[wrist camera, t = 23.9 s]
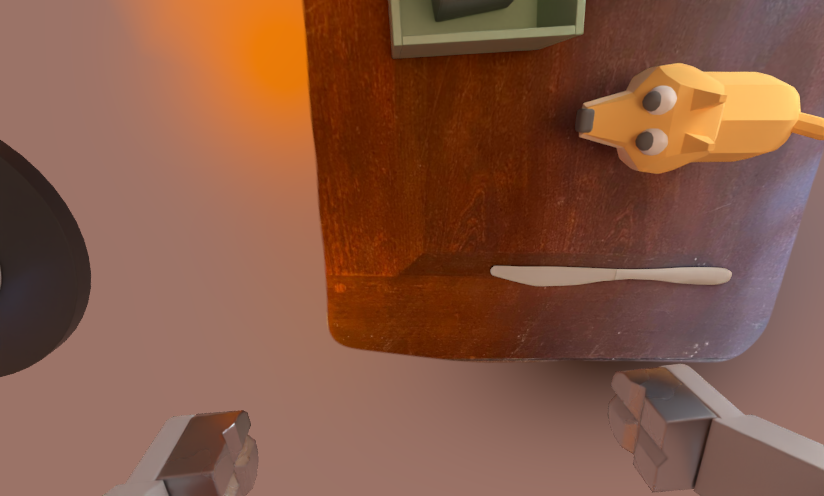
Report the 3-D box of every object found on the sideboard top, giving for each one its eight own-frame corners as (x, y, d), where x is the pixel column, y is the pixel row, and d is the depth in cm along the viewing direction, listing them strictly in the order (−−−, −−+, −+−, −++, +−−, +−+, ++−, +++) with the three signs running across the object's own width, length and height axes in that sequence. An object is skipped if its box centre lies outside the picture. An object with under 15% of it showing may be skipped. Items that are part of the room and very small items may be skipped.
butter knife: (726, 293, 46) (735, 269, 44) (488, 285, 44) (492, 260, 43) (722, 290, 46) (731, 266, 45) (487, 282, 44) (490, 258, 43)
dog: (545, 71, 37) (621, 56, 25) (754, 72, 38) (924, 58, 26) (536, 159, 40) (602, 184, 28) (732, 157, 41) (878, 180, 29)
